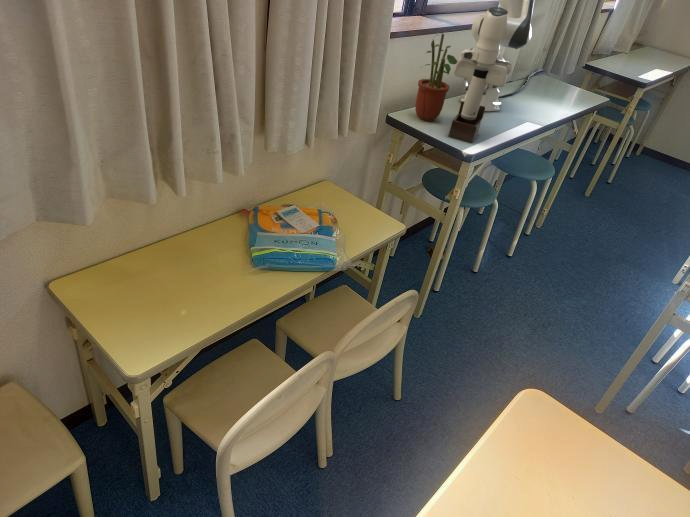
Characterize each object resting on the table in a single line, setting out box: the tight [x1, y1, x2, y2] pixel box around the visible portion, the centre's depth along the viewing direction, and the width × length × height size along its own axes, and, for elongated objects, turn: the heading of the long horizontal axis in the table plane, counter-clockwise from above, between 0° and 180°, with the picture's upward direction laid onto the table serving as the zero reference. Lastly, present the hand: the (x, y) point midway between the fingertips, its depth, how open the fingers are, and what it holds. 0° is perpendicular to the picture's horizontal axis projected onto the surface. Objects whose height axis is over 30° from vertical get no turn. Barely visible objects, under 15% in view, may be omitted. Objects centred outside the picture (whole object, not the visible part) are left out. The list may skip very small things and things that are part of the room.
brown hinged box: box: [447, 101, 486, 144], centre depth 198 cm, size 11×10×12 cm
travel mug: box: [461, 69, 488, 120], centre depth 191 cm, size 6×7×20 cm
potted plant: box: [415, 32, 458, 122], centre depth 204 cm, size 17×16×35 cm
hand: (475, 92), depth 191 cm, fingers closed on travel mug, 6 cm apart
